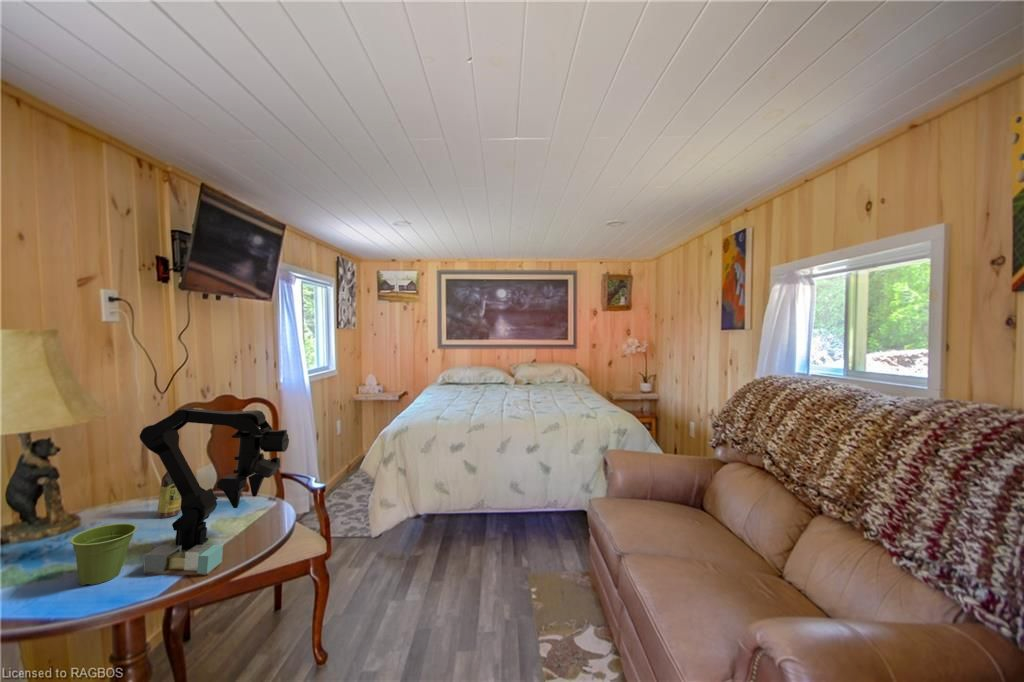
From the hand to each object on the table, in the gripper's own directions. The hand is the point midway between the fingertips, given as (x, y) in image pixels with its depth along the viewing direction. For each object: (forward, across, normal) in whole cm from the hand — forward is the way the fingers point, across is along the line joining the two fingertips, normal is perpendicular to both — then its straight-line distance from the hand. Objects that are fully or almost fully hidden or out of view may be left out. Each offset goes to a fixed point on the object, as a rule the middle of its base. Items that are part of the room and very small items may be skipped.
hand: (245, 501), depth 117 cm
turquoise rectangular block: (+12, -15, -1) cm, 19 cm away
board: (+12, -15, +6) cm, 20 cm away
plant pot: (+13, -19, +23) cm, 32 cm away
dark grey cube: (+12, -15, +12) cm, 22 cm away
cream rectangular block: (+12, -15, +4) cm, 19 cm away
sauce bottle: (+13, +18, +36) cm, 42 cm away
